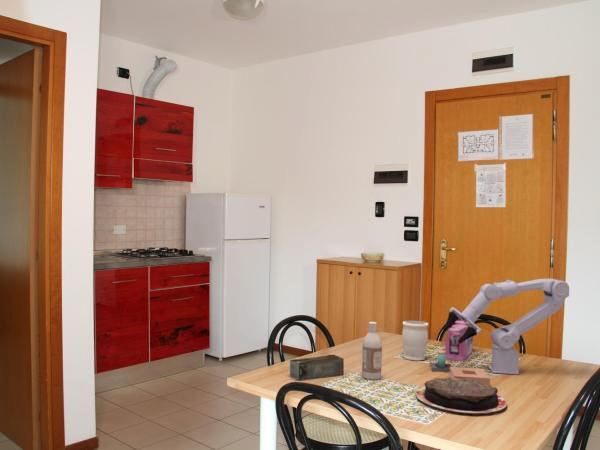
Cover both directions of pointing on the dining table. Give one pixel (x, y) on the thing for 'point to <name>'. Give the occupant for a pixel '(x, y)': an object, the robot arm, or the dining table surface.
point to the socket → (470, 374)
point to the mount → (440, 369)
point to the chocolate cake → (461, 396)
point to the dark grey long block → (316, 367)
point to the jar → (415, 339)
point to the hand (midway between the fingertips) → (451, 336)
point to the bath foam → (372, 354)
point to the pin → (441, 358)
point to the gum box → (453, 346)
